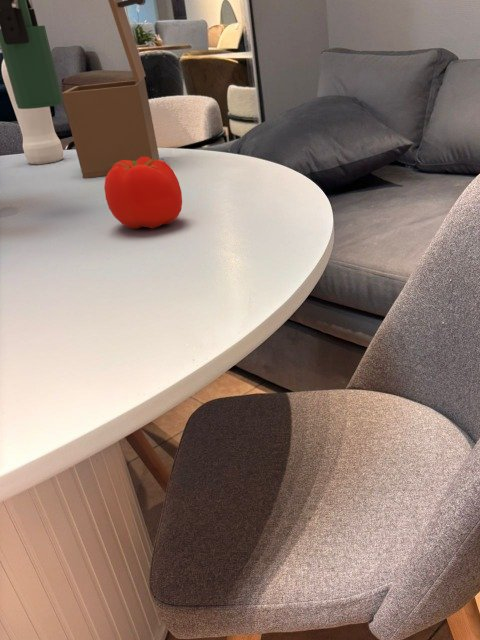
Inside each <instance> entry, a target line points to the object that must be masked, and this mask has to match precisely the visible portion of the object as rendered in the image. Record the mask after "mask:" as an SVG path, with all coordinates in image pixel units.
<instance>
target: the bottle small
mask: <svg viewBox="0 0 480 640" xmlns="http://www.w3.org/2000/svg"><path fill="white" fill-rule="evenodd" d="M17 3H18V9H22V13H23V17H24V21H25V25H26V29H27V33H28V36H29V42H28V43H22V44H11V45H7V44H5V42H4V38H3V35H2V31H1V29H0V50H1V53H2V57H3V59H4V61H5V65H6V68H7V72H8V75H9V79H10V83H11V86H12V90H13V93H14V97H15V101H16V104H17V106H18V108H19V109H32V108H42V107H50V108H51V107H55V106H60V105H62V104H64V100H63V96H62V92H61V86H60V83H59V78H58V75H57V71H56V67H55V63H54V59H53V55H52V49H51V45H50V42H49V38H48V33H47V30H46V26H45V25H38V26H32V22H31V18H30V14H29V10H28V6H27V2H26V0H17Z"/></svg>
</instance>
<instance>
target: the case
mask: <svg viewBox="0 0 480 640" xmlns="http://www.w3.org/2000/svg"><path fill="white" fill-rule="evenodd" d="M146 85H147V84H146V81H145V78H143V79H142V80H141V81H140V82H137V83H135V80H134V79H133V80H123V81H114V82H103V83H93V84H85V85H75V86H73V87H71V88H69V89H67V90H65V91H62V92H61V95H62V101H63V104H64V108H65V112H66V116H67V120H68V123H69V128H70V132H71V135H72V139H73V143H74V148H75V151H76V155H77V160H78V163H79V166H80V171H81V174H82V179H91V178H97V177H106V176H107V174H108V172H109V171H110V170H111V169H112V167H113V166H114V165H115V164H116V163H117V162H119V161H121V160H129V161H135V162H136V161H137V160H138V159H139V158H140V157H148V158H150V159H157V160H160V154H159V148H158V144H157V143H158V142H157V137H156V133H155V129H154V123H153V116H152V112H151V107H150V101H149V96H148V90H147V86H146ZM157 160H154V161H157ZM114 163H115V164H114ZM112 164H113V165H112ZM110 165H111V166H110ZM90 177H91V178H90Z"/></svg>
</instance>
